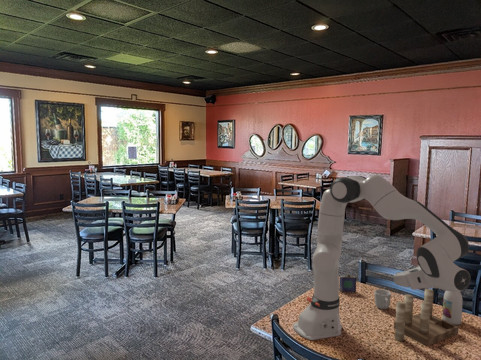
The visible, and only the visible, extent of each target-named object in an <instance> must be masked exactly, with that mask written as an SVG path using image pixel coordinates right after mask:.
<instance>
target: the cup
mask: <svg viewBox="0 0 481 360" xmlns="http://www.w3.org/2000/svg"><path fill="white" fill-rule="evenodd" d="M391 299H392V293H391V292H390V291H389V290H387V289H381V288H380V289H379V288H376V289H375V290H374V303H375V307H377V308H378V309H379V310H380V309H381V310H387V309H389V308H390V305H391Z"/></svg>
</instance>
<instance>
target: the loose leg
mask: <svg viewBox="0 0 481 360" xmlns="http://www.w3.org/2000/svg"><path fill="white" fill-rule="evenodd" d="M395 305H396V307H395V322H396V325H395V329H394V339H395V340H396V341H398V342H404V340H405V334H404V332H405V310H406V303H405V302H404V301H402V300H398V301H396V303H395Z"/></svg>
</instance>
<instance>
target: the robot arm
mask: <svg viewBox="0 0 481 360" xmlns="http://www.w3.org/2000/svg"><path fill="white" fill-rule="evenodd" d="M363 200H366V201H368V202H369V204H370V205H371V206H372V207H373V209H374V210H375V211H376V213H378V215H380V216H381V217H382V218H384V219H387V220H390V221H401V220H406V219H407V220H410V219H411V220H417V221H418V222H421V223H422V224H423V225H424V226H425V227H427V229H429V230H430V231H432V232H433V233H434V234H435V235H436V237H434V238H433V239H431V240H429V241H428V242H425V243H424V244H423V245H421V246H419V247H418V248H417V250H416V261H417V264H418V265H415V266H414V268H411V269H408V270H405V271H402V272H401V271H399V272H398V271H397V272H395V273H394V275H393V277H392V278H393V280H394V283H395V285H398V286H400V287H403V288H411V290H414V291H415V290H421V289H432V288H433V289H440V290H443V291H452V292H460V293H461V292H463V291H465V290H467V289H468V288H469V286H470V284H471V278H472V277H471V275H470V272H469V271H468V270H467V269H465V268H462V267H460V266H458V265H457V264H455V263H454V262H455V261H457V260H459V259H461V258H463V257H465V256H467V255H468V253H469V249H470V245H469V241H468V239H467V237H466V236H465V235H464V234H462V233H461V232H460V231H458V230H457V229H455V228H453V227H452V226H450V225H449V224H448V223H447V222H445V221H444V220H443V219H442V218H440V217H439V216H438V215H437V214H436V213H434V212H433V211H431V209H430V208H428V207H427V206H426V205H424V204H422V203H421V202H420V201H418V200H416V199H411V198H408V197H406V196H404V195H403V194H402V193H400V192H399V191H398V189H397V188H396V187H395V186H394V185H392V183H390V181H388V180H387V179H386V178H384V177H383V176H382V175H379V174H371V175H370V176H368V177H365V176H362V175H348V176H341V177H339V178H336V179H334V180H333V182H332V183H331V185H330V188H328V189H326V190H324V192H323V194H322V197H321V200H320V203H319V204H320V205H319V211H318V220H317V240H316V241H317V242H316V244H317V245H316V248H315V249H314V251H313V254H312V270H313V271H312V272H313V294H312V296H311V297H310V296H307V297H305V298H306V301H307V302H309V303H310V304H309V305H307V306H306V307H305V309H303V310H302V311H301V312H300V313H299V315H298V320H297V321H296V322H294V323H292V328H293V331H295V332H296V333H297V334H298V335H299V336H301V337H302V338H305V339H306V340H310V341H314V340H315V341H317V340H320V339H321V340H322V339H326V338H331V337H339V336H341V335H342V329H343V328H342V323H341V318H340V309H339V308H340V305H341V304H340V303H341V301H340V296H339V295H340V291H339V287H340V276H339V274H340V273H339V263H340V259H341V254H342V245H343V232H344V223H345V213H346V207H347V205H348V203H356V202H359V201H363Z"/></svg>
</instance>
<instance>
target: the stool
mask: <svg viewBox="0 0 481 360" xmlns="http://www.w3.org/2000/svg"><path fill="white" fill-rule="evenodd" d="M423 294H424V297H423V299H424V300H423V301H421V302H420V311H419V312H420V313H418V314H414V315H413V313H414V312H413V311H414V296H413V295H411V294H404V301H403V302H405V303H406V310H405V332H404V336H407V337H409V338H411V339H412V340H415V341H416V342H418V343H421V345H423V346H425V345H426V347H428V345H429V346H431V345H433V343H434V344H436V343H438V341H439V342H441V341H443V340H446V339H448V338H450V337H453V336H455V335H458V334H459V331H460V330H459V329H460V328H459V326H458V325H453V324H451V323H449V322H447V321H444V320H443V319H442V318H440V317H438V316H436V315H433V311H434V306H433V305H434V289H432V288H424V293H423ZM395 325H396V321H394V324H393V329H394V330H395Z"/></svg>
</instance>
